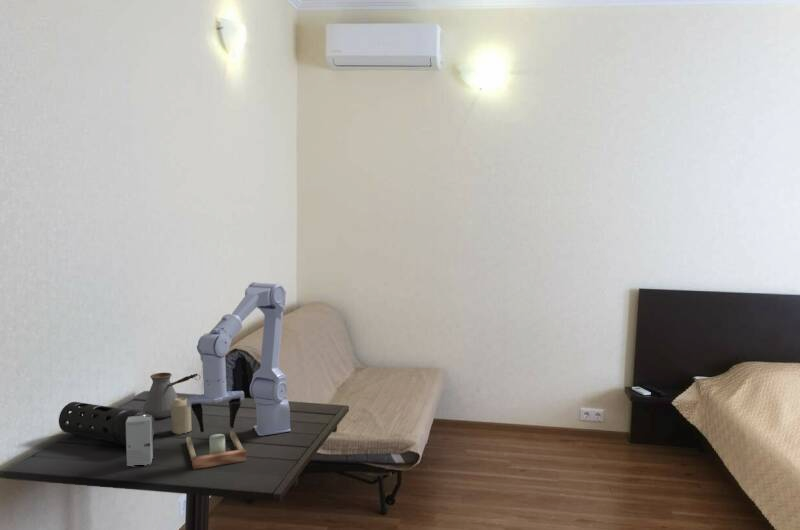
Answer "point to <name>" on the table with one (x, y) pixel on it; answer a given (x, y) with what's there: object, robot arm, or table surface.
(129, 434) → the skincare box
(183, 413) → the candle
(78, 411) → the muzzle brake
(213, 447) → the pale green rounded cylinder
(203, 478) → the table surface
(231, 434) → the channel
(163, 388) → the coffee pot
